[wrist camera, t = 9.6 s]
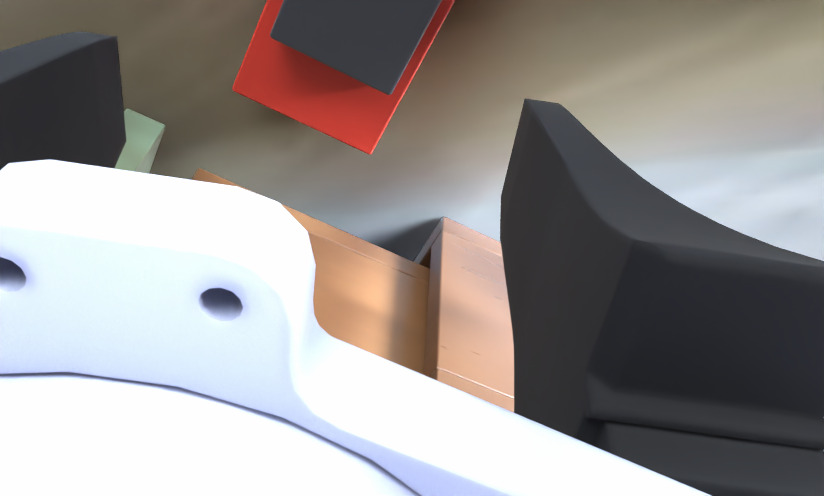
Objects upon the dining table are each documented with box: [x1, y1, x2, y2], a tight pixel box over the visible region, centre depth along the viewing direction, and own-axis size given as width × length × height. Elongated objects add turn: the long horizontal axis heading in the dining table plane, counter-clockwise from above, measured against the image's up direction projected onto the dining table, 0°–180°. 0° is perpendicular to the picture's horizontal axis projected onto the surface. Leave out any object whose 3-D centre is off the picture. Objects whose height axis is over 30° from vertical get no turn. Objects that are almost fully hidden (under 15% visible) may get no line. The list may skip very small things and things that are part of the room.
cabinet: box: [414, 217, 514, 413], centre depth 27 cm, size 13×12×8 cm
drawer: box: [114, 109, 430, 375], centre depth 24 cm, size 17×11×6 cm, turn 63°
